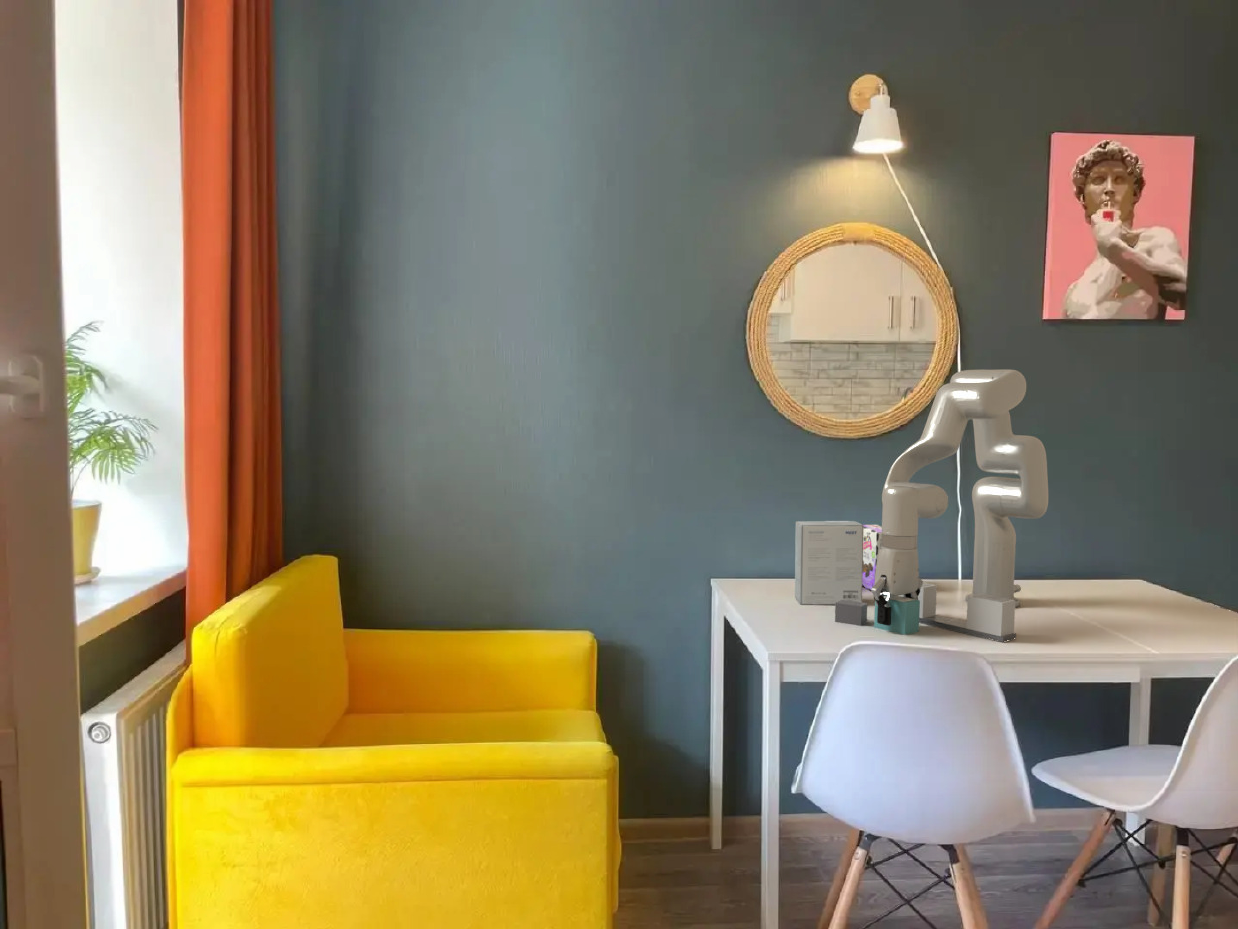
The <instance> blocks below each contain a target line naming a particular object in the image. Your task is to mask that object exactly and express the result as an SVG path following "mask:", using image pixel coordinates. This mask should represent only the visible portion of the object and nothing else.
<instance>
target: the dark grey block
mask: <svg viewBox="0 0 1238 929" xmlns="http://www.w3.org/2000/svg"><path fill="white" fill-rule="evenodd" d="M834 605H835V609H834V622H835V623H838V624H839V623H840V624H844V625H846V624H847V625H853V626H860V627H862V626H864V625H865V624H866V623H867V622H868V603H867V602H863V601H862V602H854V601H847V600H840V601H838V602H836V604H834Z"/></svg>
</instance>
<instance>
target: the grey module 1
mask: <svg viewBox="0 0 1238 929" xmlns="http://www.w3.org/2000/svg"><path fill="white" fill-rule="evenodd" d="M937 586H938V585H936V584H932V583H928V582H923V584H922V587H921V589H920V593H919V595H918V600H920V613H919V618H926V617H930V616H935V615H936V613H937V590H938V589H937ZM899 596H902V597H904V596H903V595H899ZM936 616H937V615H936Z"/></svg>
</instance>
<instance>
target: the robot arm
mask: <svg viewBox="0 0 1238 929" xmlns="http://www.w3.org/2000/svg"><path fill="white" fill-rule="evenodd" d="M1026 392H1027V380H1026V378H1025V376H1024V375H1023V374H1022V372H1020V371H1018V370H1016V369H1003V368H1002V369H965V370H960V371H958V372H955V373H954V374H953V375H952V376H951V378H950V380H949V383H946V384H943V385H942V386H941V387H940V388H939V389H938V390H937V392H936V395H935V397H934V400H933V403H932V405H931V409H930V412H929V414H928V416H927V418H926V419H927V421H926V423H925V425H924V429H923V431H922V434H921V436H920V438H919V439H918V440H917V441H916V442H914V443H913V444H911V445H910V446H909V447H907V448H906V449H905V450H904V451H903V453H901V455H899V456H898V457H897V458H896V460H895V461H894V462H893V463H892V465H891V466H890V469H889V471H888V475H887V477H886V480H885V483H884V485H883V488H882V494H881V502H882V513H881V515H882V517H881V527H882V539H881V548H882V549H880V550H879V554H878V558H877V564H876V572H875V585H874V586H873V587H872V589H871V591H872V592H871V591H870V592H871V593H872V595H873V600H874V602H875V601H876V605H878V612H877V622H878V623H879V624H883V625H887V626H889V625H891V607H889V606H890V604H891V601H892V599H893V596H899V595H903V596H904V597H906V598H911V599H916V600H918V595H919V593H920V589H921V587H922V584H923V583H924V581H923V579H921V578H920V577H919V576H920V569H919V568H920V565H919V554H918V533H919V532H918V530H919V518H920V519H921V518H923V519H935V518H939V517H940V516H942V515H944V513H945V512H946V510H947V508H948V506H949V496H948V494H947V492H946V491H945V489H944V488H942V487H940V486H938V485H935V484H931V483H930V484H928V483H918V482H910V480H911V479H912V477H913V476H914V475H915V473H917V472H918V471H920V470H921V469H922V468H923V467H926V466H928V465H931V464H932V463H935V462H938V461H941V460H944V459H947V458H948V457H951V456H953V455H954V454H956V453H957V452H958V451H959V448H960V445H961V443H962V439H963V436H964V433H965V430H966V429H967V428H966V427H967V425H968V422H969V421H971V420H972V425H973V436H974V449H975V451H974V452H975V458H976V459H975V460H976V464H977V467H978V468H979V469H980V470H981V471H983V472H986V473H992V474H1002V475H1003V474H1004V475H1016V476H1017V475H1018V476H1019V478H1016V477H1015V478H1013V477H1007V476H1006V477H1003V476H985V477H982V478H980V479H978V480H977V481H976V482H975V483H974V485H973V488H972V490H971V500H972V506H973V511H974V512H973V513H974V543H973V544H974V546H973V567H972V568H973V569H972V570H973V573H972V592H971V593H968V594H966V596H965V601H966V602H968V596H972V595H977V594H985V595H990V596H995V597H1000V598H1005V599H1011V600H1015V608H1017V607H1019V606H1020V605H1021V600H1020V599H1019V598H1017V597H1015V596H1014V595H1015V593H1020V592H1021V590H1022V586H1021V585H1019V584H1015V568H1016V567H1015V565H1016V545H1017V544H1016V543H1017V534H1016V530H1015V527H1014V525H1013V524H1012V522H1011V520H1010V518H1019V519H1029V520H1031V519H1032V520H1037V519H1039V518H1041V517H1043V516H1044V515H1045V514H1046V513H1047V511H1048V506H1049V482H1048V481H1049V479H1048V459H1047V452H1046V449H1045V446H1044V444H1043V441H1041V440H1040V439H1039V438H1037V437H1036V436H1032V435H1024V434H1023V435H1019V434H1017V435H1016V434H1014V433H1013V431H1012V429H1013V428H1012V423H1011V415H1010V414H1011V413H1010V412H1009V411H1010V410H1012V409H1014V408H1015V407H1016V406H1018V405H1019V404H1020V403H1021V402H1022V401H1023V400H1024V397H1025V396H1026ZM888 592H889V593H888ZM884 596H887V599H886V600H885V598H884Z"/></svg>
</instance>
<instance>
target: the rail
mask: <svg viewBox="0 0 1238 929" xmlns="http://www.w3.org/2000/svg"><path fill="white" fill-rule="evenodd" d="M919 624H923V625H927V626H932V627H936V628H939V629H943V630H944V629H945V630H948V631H952V632H957V633H961V634H965V635H969V636H974V637H978V638H983V639H986V638H990V639H993V640H992V641H995V640H998V641H997V642H999V641H1002V642H1001V643H1005V642H1004V641H1007V640H1010V641H1012V640H1011V639H1014V638H1016V639H1017V633H1016V632H1014V633H1012V634H1008V635H1004V636H997V635H993V634H989V633H984V632H980V631H976V630H971V629H967V628H966V626H967V621H962V620H958V619H954V618H949V617H945V616H944V617H943V616H940V615H935V616H930V617H926V618H919ZM990 639H989V640H990ZM1014 640H1015V639H1014ZM1007 642H1008V641H1007Z"/></svg>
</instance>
